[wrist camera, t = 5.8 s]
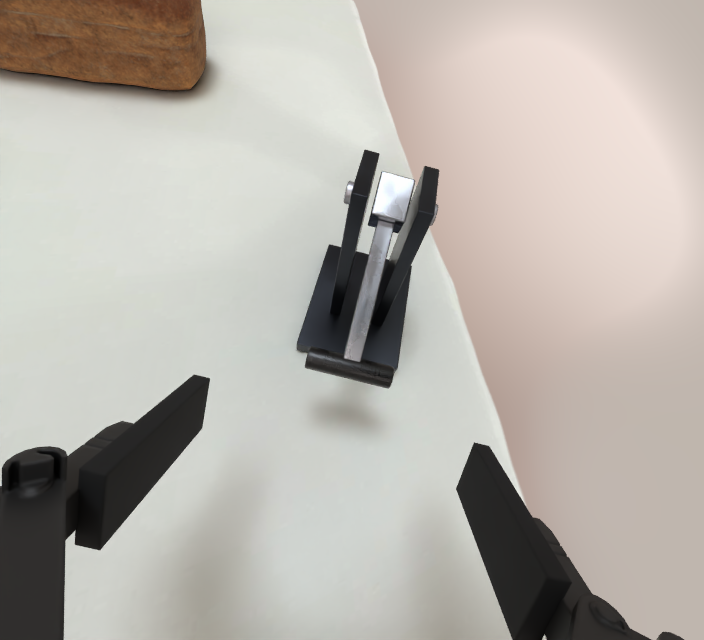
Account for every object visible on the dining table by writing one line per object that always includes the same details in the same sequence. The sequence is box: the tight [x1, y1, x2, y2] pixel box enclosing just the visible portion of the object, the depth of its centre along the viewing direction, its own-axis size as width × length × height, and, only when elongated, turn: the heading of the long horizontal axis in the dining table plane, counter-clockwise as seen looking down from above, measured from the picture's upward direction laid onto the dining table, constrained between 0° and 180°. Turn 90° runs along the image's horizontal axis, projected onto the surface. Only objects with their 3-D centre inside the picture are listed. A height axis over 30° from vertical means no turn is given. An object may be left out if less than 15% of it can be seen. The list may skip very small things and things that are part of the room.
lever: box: [305, 171, 415, 388], centre depth 22 cm, size 13×6×2 cm, turn 168°
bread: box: [0, 0, 206, 90], centre depth 42 cm, size 14×28×12 cm, turn 93°
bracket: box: [297, 150, 439, 373], centre depth 27 cm, size 12×9×15 cm
